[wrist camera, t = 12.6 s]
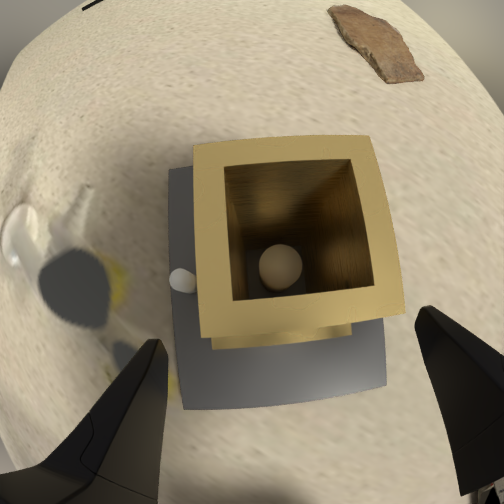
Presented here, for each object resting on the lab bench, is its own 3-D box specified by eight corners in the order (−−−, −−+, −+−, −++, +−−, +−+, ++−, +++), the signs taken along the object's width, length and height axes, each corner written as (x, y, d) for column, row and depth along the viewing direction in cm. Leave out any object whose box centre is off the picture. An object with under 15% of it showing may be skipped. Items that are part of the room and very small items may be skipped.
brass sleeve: (347, 333, 16) (451, 356, 6) (215, 347, 16) (148, 397, 6) (330, 207, 18) (395, 101, 8) (206, 218, 18) (147, 114, 8)
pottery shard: (364, 84, 22) (369, 72, 20) (321, 8, 25) (323, -2, 23) (427, 92, 22) (434, 82, 20) (375, 15, 25) (378, 6, 23)
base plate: (380, 382, 16) (415, 401, 11) (187, 404, 16) (164, 433, 12) (348, 160, 20) (369, 121, 15) (173, 175, 20) (150, 139, 15)
